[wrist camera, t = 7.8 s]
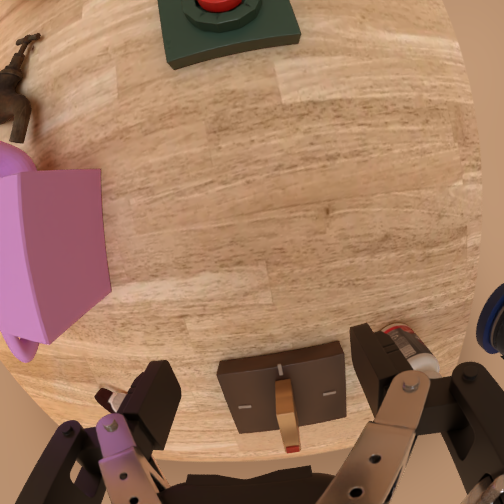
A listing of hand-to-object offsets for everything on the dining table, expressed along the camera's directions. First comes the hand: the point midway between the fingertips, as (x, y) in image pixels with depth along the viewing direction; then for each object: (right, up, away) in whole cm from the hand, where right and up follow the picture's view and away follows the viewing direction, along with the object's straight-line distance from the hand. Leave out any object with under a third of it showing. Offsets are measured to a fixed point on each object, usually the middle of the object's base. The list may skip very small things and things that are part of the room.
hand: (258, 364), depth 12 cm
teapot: (-23, +8, +15) cm, 29 cm away
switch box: (-3, +28, +9) cm, 29 cm away
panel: (+4, -11, +19) cm, 22 cm away
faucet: (-31, +26, +11) cm, 42 cm away
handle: (+3, -11, +16) cm, 20 cm away
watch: (-18, -16, +21) cm, 32 cm away
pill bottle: (+15, -5, +17) cm, 24 cm away
